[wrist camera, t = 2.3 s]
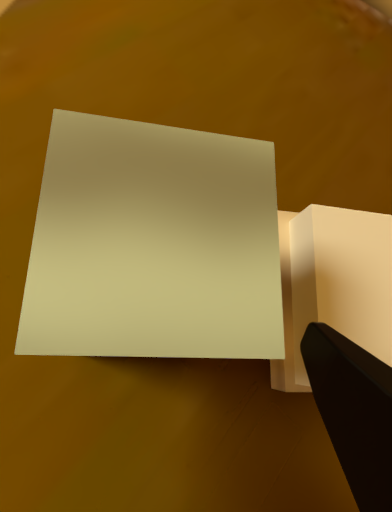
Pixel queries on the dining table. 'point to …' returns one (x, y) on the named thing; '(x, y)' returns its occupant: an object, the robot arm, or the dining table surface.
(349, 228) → the tower top slab
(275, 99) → the dining table surface
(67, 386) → the dining table surface
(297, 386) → the tower base slab
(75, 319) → the pillar block
